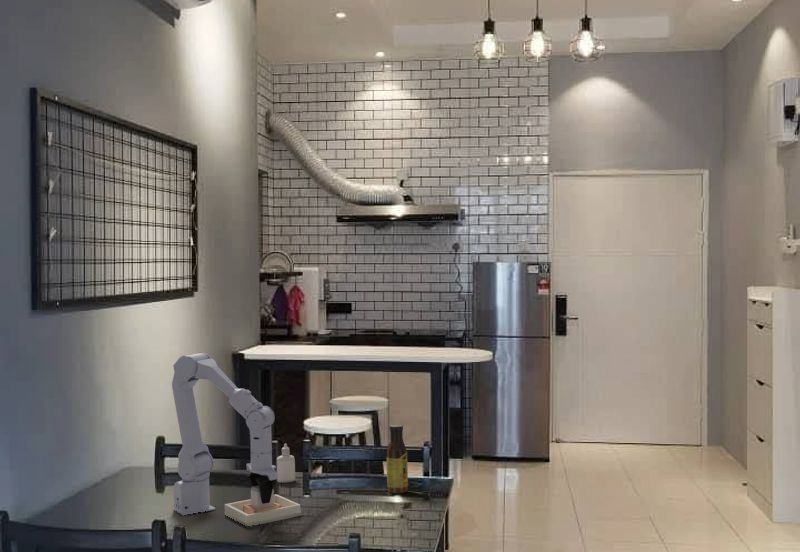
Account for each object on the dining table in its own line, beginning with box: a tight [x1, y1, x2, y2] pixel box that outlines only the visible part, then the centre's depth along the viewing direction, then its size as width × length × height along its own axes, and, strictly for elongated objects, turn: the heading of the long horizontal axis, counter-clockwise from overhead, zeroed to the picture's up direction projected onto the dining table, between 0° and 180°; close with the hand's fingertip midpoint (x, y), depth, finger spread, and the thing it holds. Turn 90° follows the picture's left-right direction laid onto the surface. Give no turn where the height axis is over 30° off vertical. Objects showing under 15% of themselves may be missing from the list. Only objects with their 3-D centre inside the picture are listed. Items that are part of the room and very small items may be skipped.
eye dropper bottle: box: [276, 443, 296, 484], centre depth 267 cm, size 4×6×12 cm
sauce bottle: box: [386, 424, 409, 495], centre depth 252 cm, size 7×6×20 cm
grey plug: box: [250, 486, 275, 510], centre depth 230 cm, size 5×4×6 cm
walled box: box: [224, 493, 302, 527], centre depth 230 cm, size 16×14×3 cm
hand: (262, 501), depth 230 cm, fingers closed on grey plug, 4 cm apart
